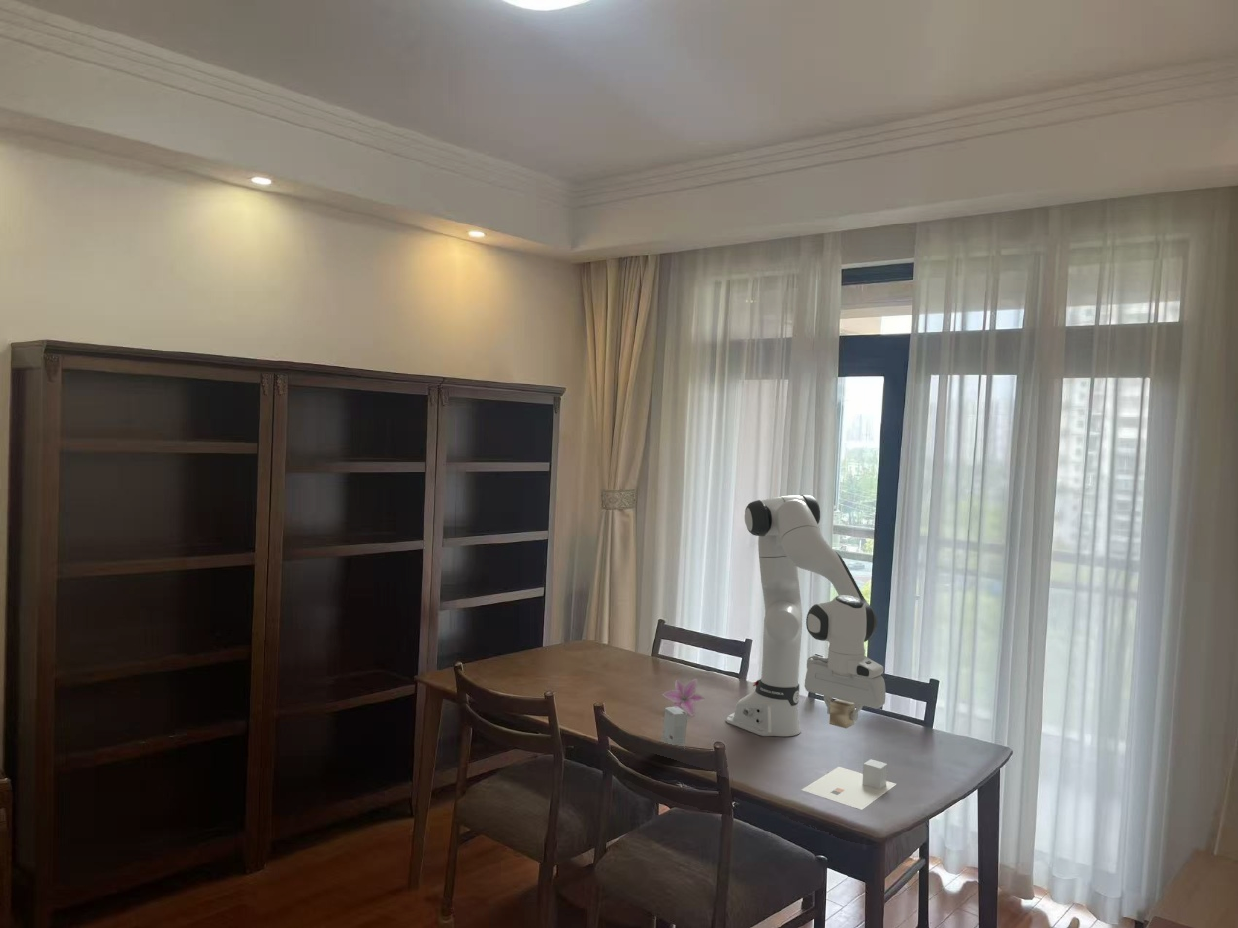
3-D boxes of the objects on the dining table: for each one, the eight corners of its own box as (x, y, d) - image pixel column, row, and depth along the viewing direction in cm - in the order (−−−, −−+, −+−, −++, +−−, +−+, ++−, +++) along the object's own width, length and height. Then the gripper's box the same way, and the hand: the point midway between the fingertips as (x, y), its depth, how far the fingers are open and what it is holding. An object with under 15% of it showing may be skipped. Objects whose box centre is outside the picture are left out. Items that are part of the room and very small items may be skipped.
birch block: (829, 723, 219) (830, 702, 218) (837, 719, 222) (838, 698, 222) (846, 728, 216) (847, 706, 216) (854, 724, 219) (855, 702, 219)
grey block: (862, 784, 225) (863, 763, 225) (869, 779, 228) (870, 758, 228) (879, 789, 222) (880, 768, 222) (886, 784, 225) (887, 763, 225)
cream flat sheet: (800, 790, 219) (801, 789, 219) (838, 767, 237) (838, 766, 236) (861, 810, 209) (861, 809, 209) (896, 784, 226) (896, 783, 226)
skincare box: (660, 750, 242) (663, 706, 242) (675, 748, 244) (677, 705, 243) (670, 758, 236) (673, 713, 236) (685, 756, 238) (688, 712, 238)
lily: (657, 710, 280) (659, 689, 275) (679, 690, 287) (681, 669, 282) (687, 730, 273) (690, 709, 268) (709, 709, 281) (712, 687, 276)
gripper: (801, 655, 222) (798, 709, 223) (879, 673, 210) (875, 730, 210) (813, 651, 227) (809, 704, 228) (889, 668, 215) (886, 724, 215)
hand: (842, 716), depth 219 cm, fingers closed on birch block, 4 cm apart
